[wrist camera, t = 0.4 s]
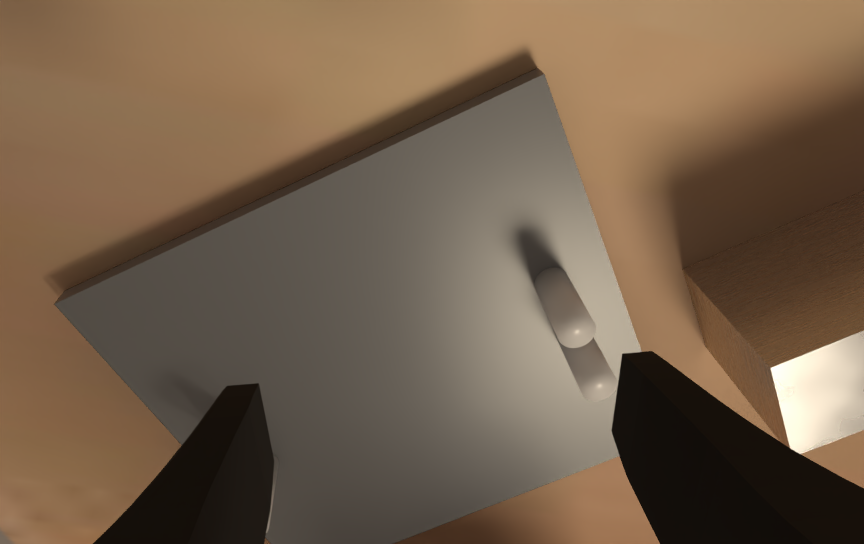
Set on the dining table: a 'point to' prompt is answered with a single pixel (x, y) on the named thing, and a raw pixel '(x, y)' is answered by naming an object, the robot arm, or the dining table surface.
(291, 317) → the dock
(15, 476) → the dining table surface
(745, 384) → the block
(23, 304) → the dining table surface
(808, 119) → the dining table surface
